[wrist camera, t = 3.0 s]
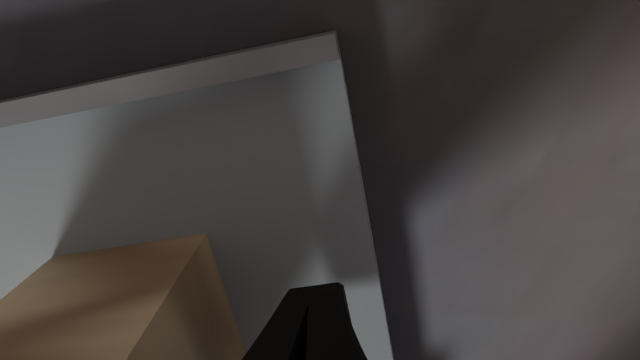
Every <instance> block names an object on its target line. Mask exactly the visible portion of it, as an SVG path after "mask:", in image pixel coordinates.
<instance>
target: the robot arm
mask: <svg viewBox="0 0 640 360" xmlns="http://www.w3.org/2000/svg"><path fill="white" fill-rule="evenodd" d="M242 360H368V359H367V357H366V355H365V353H364V351H363V349H362V347H361V345H360V343H359V340H358V338H357V336H356V333H355V331H354V329H353V326H352V322H351V318H350V313H349V308H348V303H347V299H346V294H345V289H344V285H342V284H341V283H339V282H335V283H328V284H321V285H313V286H306V287H299V288H291V289H289V290H288V292H287V293H286V294H285V296H284V297H283V299H282V301H281V302H280V304H279V305H278V307H277V308H276V310H275V312H274V313H273V315H272V316H271V318H270V319H269V321H268V322H267V324H266V325H265V327H264V328H263V330H262V331H261V333H260V334H259V336H258V337H257V339H256V340H255V341H254V343H253V344H252V346H251V347H250V349H249V350H248V352H247V353H246V354H245V356H244V357H243V358H242Z"/></svg>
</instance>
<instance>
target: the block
mask: <svg viewBox="0 0 640 360" xmlns="http://www.w3.org/2000/svg"><path fill="white" fill-rule="evenodd" d="M245 354H246V350H245V347H244V344H243V341H242V338H241V335H240V332H239V329H238V326H237V323H236V320H235V317H234V314H233V311H232V308H231V305H230V302H229V299H228V296H227V293H226V290H225V287H224V284H223V281H222V278H221V275H220V272H219V269H218V266H217V263H216V260H215V257H214V254H213V251H212V248H211V245H210V242H209V239H208V236H207V233H202V234H196V235H190V236H183V237H177V238H171V239H164V240H158V241H152V242H145V243H139V244H132V245H126V246H120V247H113V248H107V249H101V250H94V251H88V252H81V253H75V254H69V255H62V256H56V257H52V258H50V259H49V260H48V261H47V262H46V263H44V264H43V265H42V266H41V267H40V268H38V269H37V270H36V271H35V272H33V273H32V274H31V275H30V276H29V277H27V278H26V279H25V280H24V281H23V282H21V283H20V284H19V285H18V286H16V287H15V288H14V289H13V290H12V291H10V292H9V293H8V294H7V295H6V296H4V297H3V298H2V299H1V300H0V360H242V358H243V357H244V356H245Z"/></svg>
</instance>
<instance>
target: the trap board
mask: <svg viewBox="0 0 640 360" xmlns="http://www.w3.org/2000/svg"><path fill="white" fill-rule="evenodd" d="M202 233H207V236H208V239H209V242H210V245H211V248H212V251H213V254H214V257H215V260H216V263H217V266H218V269H219V272H220V275H221V278H222V281H223V284H224V287H225V290H226V293H227V296H228V299H229V302H230V305H231V308H232V311H233V314H234V317H235V320H236V323H237V326H238V329H239V332H240V335H241V338H242V341H243V344H244V347H245V350H246V353H247V352H248V350H249V349H250V347H251V346H252V344H253V343H254V341H255V340H256V339H257V337H258V336H259V334H260V333H261V331H262V330H263V328H264V327H265V325H266V324H267V322H268V321H269V319H270V318H271V316H272V315H273V313H274V312H275V310H276V308H277V307H278V305H279V304H280V302H281V301H282V299H283V297H284V296H285V294H286V293H287V292H288V290H289V289H291V288H299V287H306V286H313V285H321V284H328V283H335V282H339V283H341V284H342V285H344V289H345V294H346V299H347V303H348V308H349V313H350V318H351V322H352V326H353V329H354V331H355V333H356V336H357V338H358V340H359V343H360V345H361V347H362V349H363V351H364V353H365V355H366V357H367V359H368V360H394V356H393V351H392V345H391V339H390V333H389V328H388V322H387V316H386V310H385V305H384V299H383V293H382V288H381V282H380V276H379V270H378V265H377V259H376V253H375V247H374V242H373V236H372V230H371V224H370V219H369V213H368V207H367V201H366V196H365V190H364V184H363V178H362V173H361V167H360V161H359V155H358V150H357V144H356V138H355V132H354V127H353V121H352V115H351V109H350V104H349V98H348V92H347V86H346V81H345V75H344V69H343V63H342V58H341V52H340V46H339V40H338V35H337V30H332V31H328V32H323V33H318V34H313V35H309V36H304V37H299V38H294V39H290V40H285V41H280V42H275V43H271V44H266V45H261V46H256V47H252V48H247V49H242V50H237V51H232V52H228V53H223V54H218V55H213V56H209V57H204V58H199V59H194V60H190V61H185V62H180V63H175V64H171V65H166V66H161V67H156V68H152V69H147V70H142V71H137V72H133V73H128V74H123V75H118V76H114V77H109V78H104V79H99V80H95V81H90V82H85V83H80V84H76V85H71V86H66V87H61V88H56V89H52V90H47V91H42V92H37V93H33V94H28V95H23V96H18V97H14V98H9V99H4V100H0V300H1V299H2V298H3V297H4V296H6V295H7V294H8V293H9V292H10V291H12V290H13V289H14V288H15V287H16V286H18V285H19V284H20V283H21V282H23V281H24V280H25V279H26V278H27V277H29V276H30V275H31V274H32V273H33V272H35V271H36V270H37V269H38V268H40V267H41V266H42V265H43V264H44V263H46V262H47V261H48V260H49V259H50V258H52V257H56V256H62V255H69V254H75V253H81V252H88V251H94V250H101V249H107V248H113V247H120V246H126V245H132V244H139V243H145V242H152V241H158V240H164V239H171V238H177V237H183V236H190V235H196V234H202Z"/></svg>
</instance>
